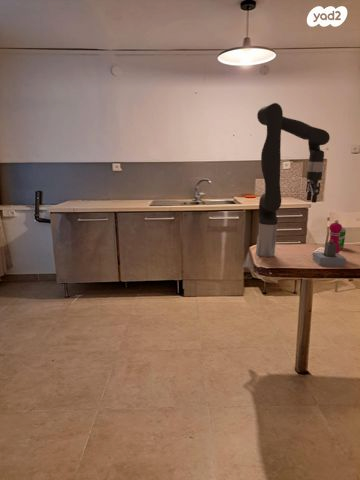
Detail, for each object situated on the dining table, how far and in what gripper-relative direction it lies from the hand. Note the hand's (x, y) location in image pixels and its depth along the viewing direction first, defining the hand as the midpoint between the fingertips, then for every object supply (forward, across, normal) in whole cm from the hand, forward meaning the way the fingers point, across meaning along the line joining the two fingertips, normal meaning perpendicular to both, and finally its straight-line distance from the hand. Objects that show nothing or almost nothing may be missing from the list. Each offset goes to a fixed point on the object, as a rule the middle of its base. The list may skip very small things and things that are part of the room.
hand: (311, 201), depth 169 cm
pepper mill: (+28, +10, +11) cm, 32 cm away
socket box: (+28, +20, +5) cm, 35 cm away
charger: (+28, +20, +5) cm, 35 cm away
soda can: (+28, -10, +21) cm, 37 cm away
